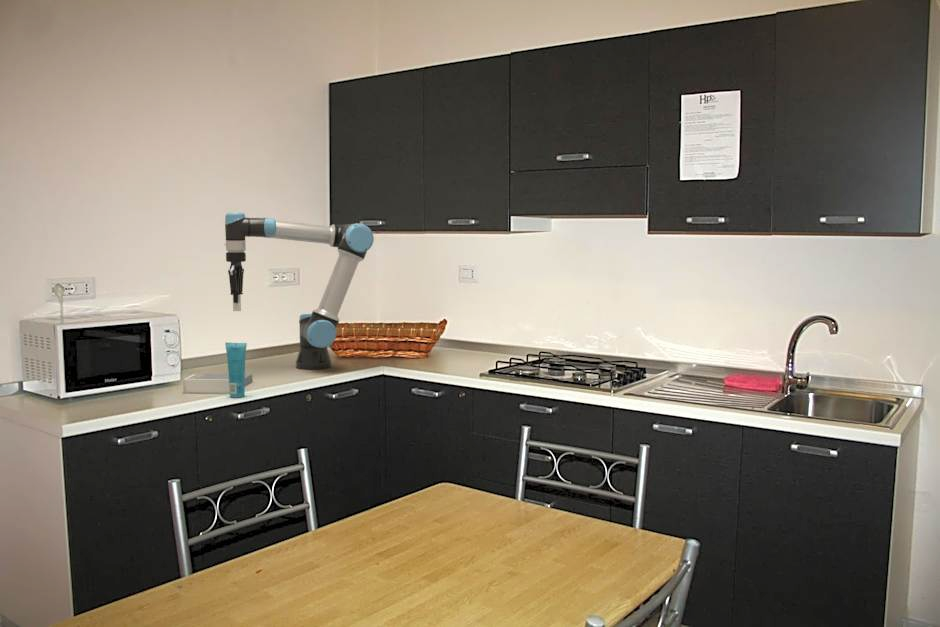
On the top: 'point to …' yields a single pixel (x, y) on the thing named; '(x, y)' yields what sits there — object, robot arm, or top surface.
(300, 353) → the robot arm
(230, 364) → the tube
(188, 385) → the tray
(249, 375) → the board
